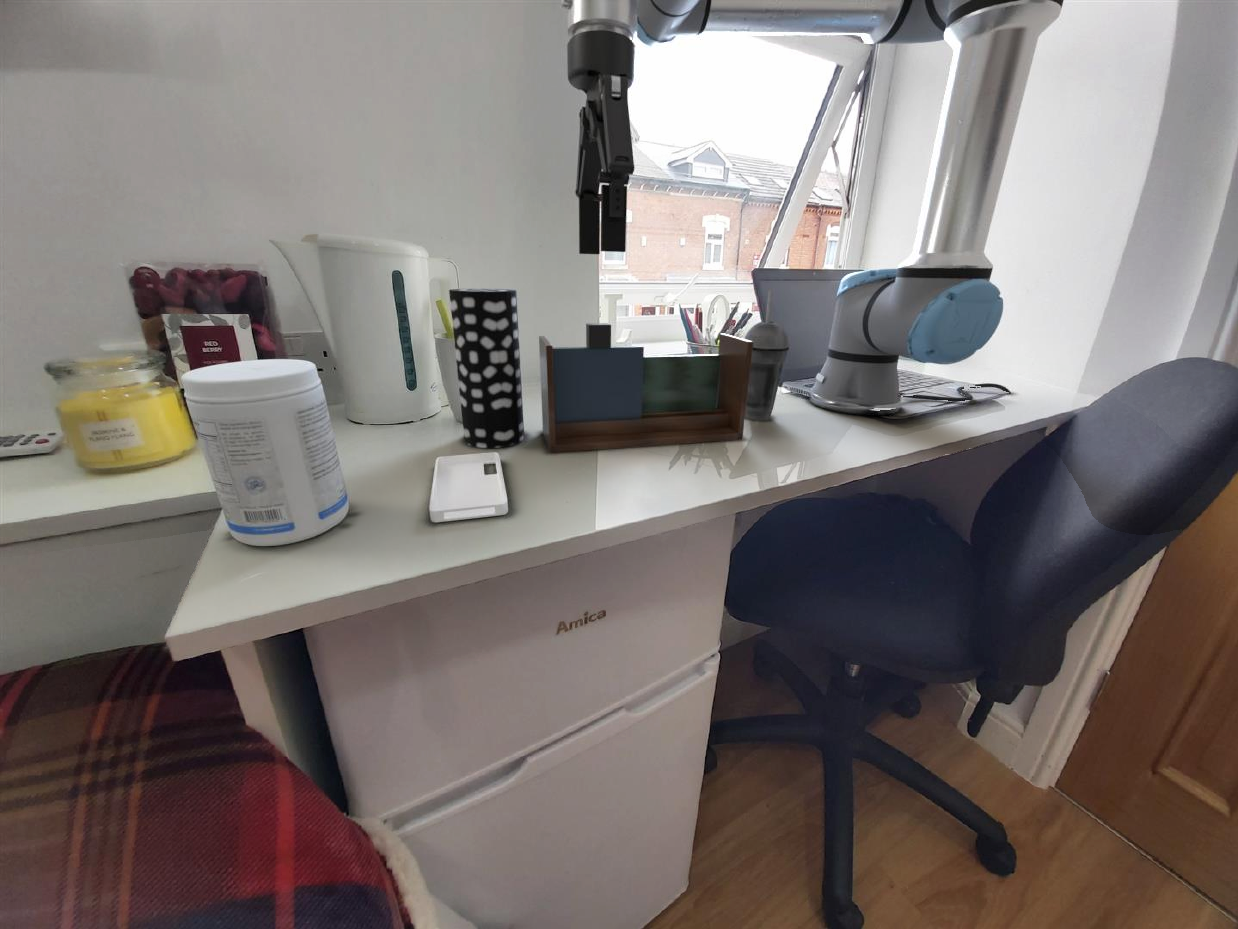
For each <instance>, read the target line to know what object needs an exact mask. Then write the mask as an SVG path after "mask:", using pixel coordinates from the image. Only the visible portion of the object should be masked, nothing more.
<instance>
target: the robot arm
mask: <svg viewBox="0 0 1238 929" xmlns="http://www.w3.org/2000/svg"><path fill="white" fill-rule="evenodd" d="M1064 1H1065V0H561V7H562V8H563V9H565V10H568V12H567V16H566V18H567V20H566V22H567V25H566V26H567V36H568V37H569V41H568V42H567V44H566V45H567V46H566V52H567V55H566V57H567V58H566V59H567V63H566V64H567V65H566V66H567V80H568V83H569V84H570V85H571V86H572V87H573V88H574V89H576V90H578V91H582V92H583V93H584V94H585V95H586V99H585V106H582V107H581V108H580V110H579V113H578V116H579V133H578V134H579V136H578V140H579V141H578V152H577V167H576V182H575V183H576V184H575V191H574V193H575V197H577V198H578V254H579V255H600V254H601V252H610V253H611V252H612V253H616V252H617V253H625V252H626V250H627V244H626V243H627V209H628V206H627V205H628V203H627V202H628V186H627V185H629V181H630V176H631V175H633V174H634V172H635V161H634V150H633V140H632V132H631V130H632V129H631V121H630V111H629V110H630V109H629V101H628V100H629V97H628V96H629V95H628V94H629V93H628V92H629V91H628V90H630V89H631V88H632V87H633V86H634V85H635V82H636V59H637V57H636V56H637V48H636V44H635V43H634V42H635V40H636V39H638V40H639V41H640V42H642V43H643V44H644V45H646V46H648V47H652V48H659V47H663V46H665V45H667V44H669V43H670V42H672V41H673V40H675V38H676V37H677V36H784V35H785V36H796V35H797V36H799V35H800V36H805V35H806V36H822V35H823V36H825V35H827V36H830V35H831V36H834V35H835V36H837V35H838V36H839V35H841V36H843V35H845V36H846V35H847V36H848V35H849V36H850V35H851V36H852V35H854V36H855V35H858V36H859V35H860V37H861V39H862V41H863V42H864V43H866V44H869V45H902V44H903V45H904V44H908V45H909V44H925V43H934V42H939V41H940V42H941V41H945V42H946V43H947V44H948V45H949V46H950V47H951V48H952V50H953V54H952V55H953V56H952V61H951V65H950V70H949V75H948V80H947V85H946V90H945V94H944V99H943V104H942V109H941V113H940V118H939V123H938V128H937V133H936V138H935V142H934V147H933V152H932V153H933V154H932V157H931V162H930V167H929V172H928V177H927V182H926V186H925V191H924V197H923V201H922V206H921V210H920V214H919V215H920V216H919V220H918V224H917V230H916V235H915V240H914V244H913V249H912V253H911V254H909V256H908V257H907V258H906V259H905V260H903V261H902V262H901V263H900V264H898V266H897V268H882V269H880V268H879V269H867V270H861V271H855V272H850V273H848V274H846V275H845V276H843V278H842V279H841V280H840V283H839V286H838V290H837V294H836V296H835V307H834V314H833V320H832V326H831V331H830V338H829V342H828V350H827V355H826V360H825V363H824V364H823V365H822V366H823V367H822V368H821V369H820V372H817V374H816V376H815V379H816V381H815V383H814V384H813V386H812V387H811V389H810V394H809V402H810V403H811V404H813V405H815V406H817V407H819V408H823V409H826V410H829V411H833V412H840V413H845V414H851V415H852V414H853V415H862V416H863V415H865V416H881V415H882V416H883V415H884V416H885V415H891V414H895V413H897V412H899V411H900V407H901V403H902V402H901V401H902V399H901V398H907V399H908V398H909V399H914V400H915V399H918V400H928V401H937V400H948V401H947V402H950V401H965V400H970V401H972V400H973V399H974V396H973V395H972V394H971V393H969V392H967V391H966V390H962V389H964V385H963V386H959V387H958V388H956V392H957V391H958V392H959V393H958V392H957V393H958V394H960V393H962V394H963V395H965V396H966V397H965V396H964V397H949V396H937V395H927V394H916V395H913V396H903V397H901V395H902V394H905V393H906V392H900V384H899V383H900V382H899V381H900V380H899V371H898V364H899V359H900V357H904V358H906V359H910V360H911V359H912V360H913V361H916V362H919V363H922V364H936V365H952V364H956V363H960V362H963V361H964V360H967V359H969V358H970V357H971V356H973V355H974V354H975V353H976V352H977V351H979V350H982V348H983V347H984V346H985V345H986V344H987V343H988V342H989V341H990V340H991V338H993V335H994V334H995V333H996V330H997V329H998V327H999V325H1000V322H1001V320H1002V316H1003V314H1004V313H1003V312H1004V298H1003V297H1001V296H1000V295H1001V293H1002V292H1001V290H1000V288H998V287H997V286H996V284H994V283H992V281H991V276H992V273H993V270H994V264H993V263H992V262H991V261H990V259H988V257H987V256H986V255H985V248H986V245H987V241H988V236H989V233H990V228H991V225H992V221H993V217H994V212H995V209H996V205H997V202H998V198H999V194H1000V191H1001V190H1000V189H1001V185H1002V181H1003V178H1004V174H1005V170H1006V166H1007V162H1008V158H1009V154H1010V151H1011V147H1012V142H1013V139H1014V135H1015V131H1016V126H1017V123H1018V120H1019V119H1018V118H1019V115H1020V111H1021V107H1022V104H1023V100H1024V96H1025V92H1026V88H1027V84H1028V80H1029V76H1030V73H1031V67H1032V64H1033V60H1034V56H1035V52H1036V48H1037V45H1038V41H1039V38H1040V36H1041V35H1042V34H1043V33H1044V32H1045V31H1046V30H1047V29H1048V28H1049V27H1050V26H1051V25H1052V24H1053V23H1054V22H1055V21H1056V20H1057V19H1058V18H1059V17H1060V15H1061V12H1062V8H1063V4H1064ZM599 192H600V193H599ZM974 385H975V386H981V389H983V388H993V389H999V390H1001V391H1003V392H1004V391H1006V392H1009V393H1010V394H1009V395H1011V394H1012V392H1011V391H1010V389H1009V388H1008V387H1006V386H1004V385H1001V384H998V383H977V384H975V383H974ZM970 388H974V389H980V387H977V388H976V387H970ZM963 395H962V396H963ZM899 405H900V406H899ZM897 406H899V407H898V408H896V409H891V410H880V411H871V410H869V409H874V408H894V407H897Z"/></svg>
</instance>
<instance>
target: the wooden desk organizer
mask: <svg viewBox="0 0 1238 929" xmlns="http://www.w3.org/2000/svg"><path fill="white" fill-rule="evenodd" d="M538 345H539V346H538V348H539V370H540V371H539V372H540V373H539V374H540V397H541V417H542V418H541V419H542V422H541V423H542V434H543V436H544V440H545V443H546V445H547V448H548V451H549V453H550V454H554V453H555V454H556V453H569V452H582V451H583V452H585V451H596V450H598V451H599V450H612V449H626V448H638V447H639V448H640V447H654V446H655V447H656V446H670V445H681V444H698V443H713V442H724V441H725V442H726V441H740V440H743V436H744V429H745V428H744V427H745V419H746V418H745V411H746V402H747V394H748V385H749V376H750V367H751V359H752V350H753V341H749V340H746V339H745V338H742V337H738V336H734V335H731V334H728V333H720V334H719V341H718V352H717V353H716V354H715V353H711V354H708V353H707V354H675V355H674V354H671V355H669V354H668V355H644V356H643V385H642V413H641V418H639V419H621V420H603V421H585V422H567V423H555V406H554V375H553V344H552V343H551V342H550V341H549V340H548V338H546V336H545V335H538Z"/></svg>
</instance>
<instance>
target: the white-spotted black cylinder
mask: <svg viewBox="0 0 1238 929" xmlns="http://www.w3.org/2000/svg"><path fill="white" fill-rule="evenodd" d="M448 293H449V303H450V304H449V305H450V312H451V322H452V330H453V331H452V333H453V339H454V340H453V343H454V351H455V362H456V372H457V381H458V382H457V383H458V392H459V400H460V408H461V409H460V410H461V420H462V430H463V439H464V443H465V444H467V445H468V446H471V447H474V448H480V449H481V448H482V449H498V448H505V447H506V448H507V447H510V446H514V445H517V444H519V443H521V442H522V441H524V439H525V426H524V405H523V391H522V390H523V389H522V388H523V387H522V370H521V352H520V333H519V332H520V330H519V315H518V314H519V313H518V298H517V290H516V289H508V288H507V289H505V288H454V289H448Z"/></svg>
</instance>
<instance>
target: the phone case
mask: <svg viewBox="0 0 1238 929" xmlns="http://www.w3.org/2000/svg"><path fill="white" fill-rule="evenodd" d="M500 457H501V456H500V454H499V452H481V453H469V454H468V453H467V454H458V455H457V454H456V455H444V456H438V457H437V458H436V459H435V464H434V472H433V477H432V478H433V479H432V484H431V485H432V486H431V491H430V499H429V504H428V505H429V506H428V509H429V516H430V521H431V522H432V523H444V522H453V521H461V520H470V519H479V518H489V517H497V516H504V515H507V514H508V512H509V503H508V496H507V495H508V494H507V489H506V485H505V484H506V483H505V479H504V474H503V467H502V462H501V458H500ZM484 465H495V469H496V473H492V474H485V467H484Z"/></svg>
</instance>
